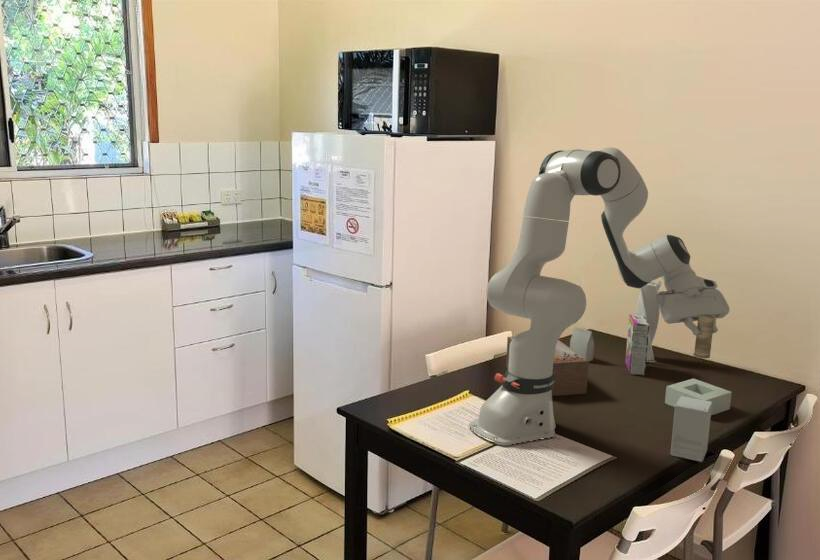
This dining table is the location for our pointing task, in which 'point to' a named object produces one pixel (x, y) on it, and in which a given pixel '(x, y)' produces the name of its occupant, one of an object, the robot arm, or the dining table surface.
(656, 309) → the skyscraper
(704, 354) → the peg
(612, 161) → the robot arm
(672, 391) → the socket block
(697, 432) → the supplement box
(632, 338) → the candy bar box
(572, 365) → the tissue box cover
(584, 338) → the grey bevelled box
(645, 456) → the dining table surface
